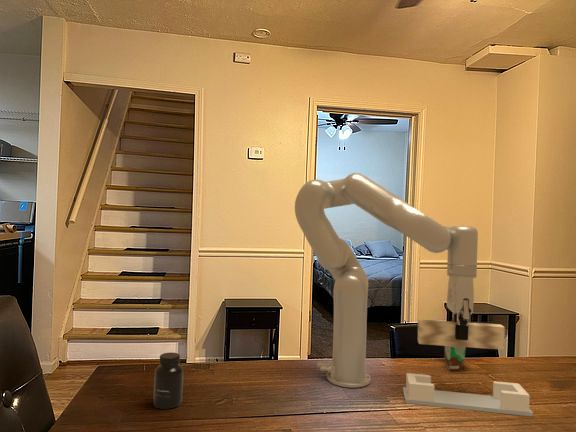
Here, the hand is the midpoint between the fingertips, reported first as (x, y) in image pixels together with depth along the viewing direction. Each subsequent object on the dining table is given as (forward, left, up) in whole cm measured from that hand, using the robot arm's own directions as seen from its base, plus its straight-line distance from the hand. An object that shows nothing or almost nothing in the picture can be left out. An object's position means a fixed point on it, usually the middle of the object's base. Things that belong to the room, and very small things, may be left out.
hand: (459, 337), depth 115 cm
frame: (0, -7, -15) cm, 17 cm away
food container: (+4, +21, -15) cm, 26 cm away
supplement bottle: (-73, -26, -15) cm, 79 cm away
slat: (0, 0, -2) cm, 2 cm away
